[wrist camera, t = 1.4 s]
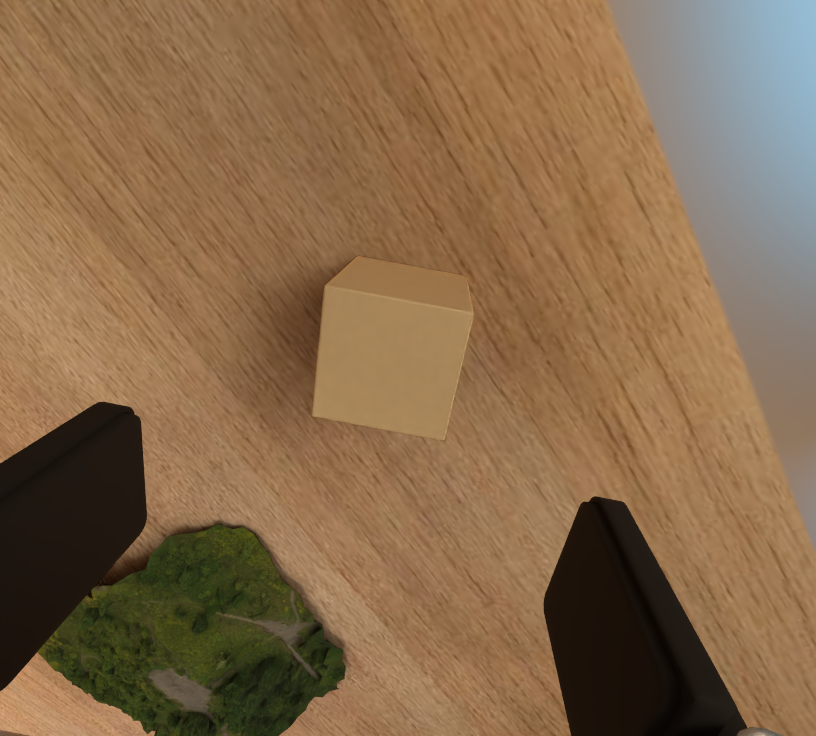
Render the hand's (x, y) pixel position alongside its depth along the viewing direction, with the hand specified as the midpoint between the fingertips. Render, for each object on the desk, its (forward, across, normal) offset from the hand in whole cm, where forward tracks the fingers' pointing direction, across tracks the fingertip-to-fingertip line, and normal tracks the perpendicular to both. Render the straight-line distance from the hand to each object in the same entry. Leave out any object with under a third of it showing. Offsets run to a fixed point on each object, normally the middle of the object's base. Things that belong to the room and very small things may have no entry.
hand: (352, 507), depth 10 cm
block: (+13, 0, 0) cm, 13 cm away
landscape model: (+13, +11, +25) cm, 30 cm away
